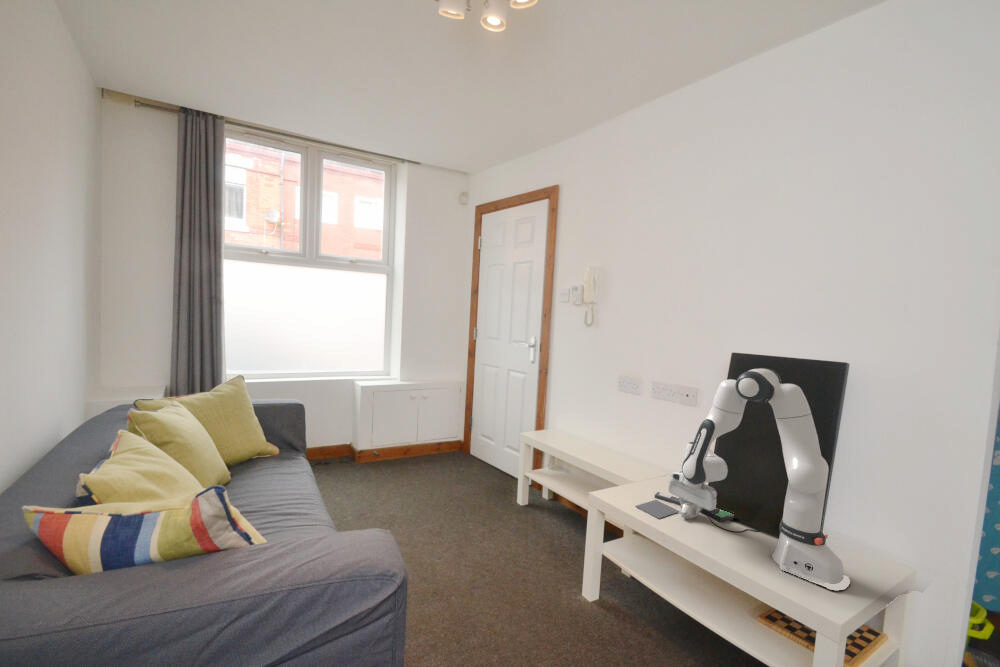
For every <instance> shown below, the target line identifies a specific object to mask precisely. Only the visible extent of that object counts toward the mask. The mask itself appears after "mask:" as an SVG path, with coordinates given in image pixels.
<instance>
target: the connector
mask: <svg viewBox="0 0 1000 667" xmlns="http://www.w3.org/2000/svg"><path fill="white" fill-rule="evenodd" d="M697 509H698V508H697V505H696V504H693V503H691V502H687V503H684V504H683V506H682V508H681V509H680V510H679V509H678V511H679V512H678V514H679V515H680V516H681V518H682V519H685V520H690V519H693V518H696V517H697V515H695V514H694V510H697Z"/></svg>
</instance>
